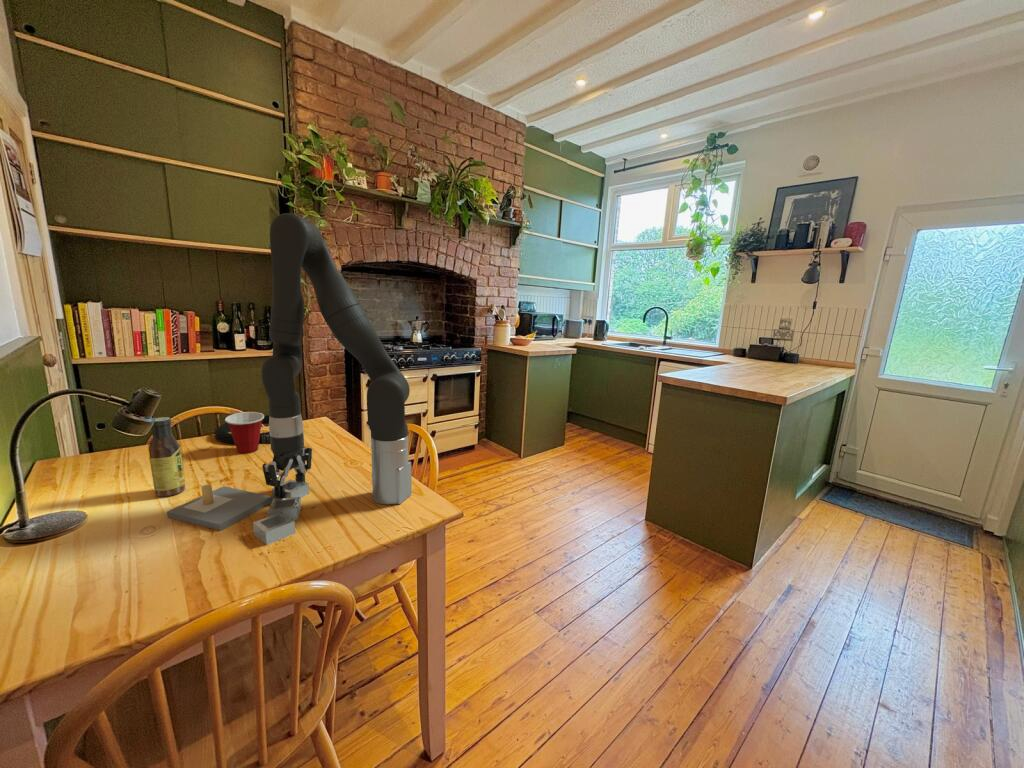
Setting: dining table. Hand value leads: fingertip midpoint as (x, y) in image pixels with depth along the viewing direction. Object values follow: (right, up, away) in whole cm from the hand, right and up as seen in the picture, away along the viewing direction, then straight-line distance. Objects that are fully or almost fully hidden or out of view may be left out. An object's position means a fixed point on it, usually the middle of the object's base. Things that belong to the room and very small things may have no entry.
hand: (291, 492), depth 107 cm
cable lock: (-36, +9, +46) cm, 59 cm away
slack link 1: (+4, -3, -9) cm, 10 cm away
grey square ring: (0, -1, 0) cm, 1 cm away
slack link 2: (+5, -5, -17) cm, 18 cm away
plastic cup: (-30, +6, +29) cm, 42 cm away
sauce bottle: (-31, 0, 0) cm, 31 cm away
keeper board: (-13, -2, -7) cm, 15 cm away
